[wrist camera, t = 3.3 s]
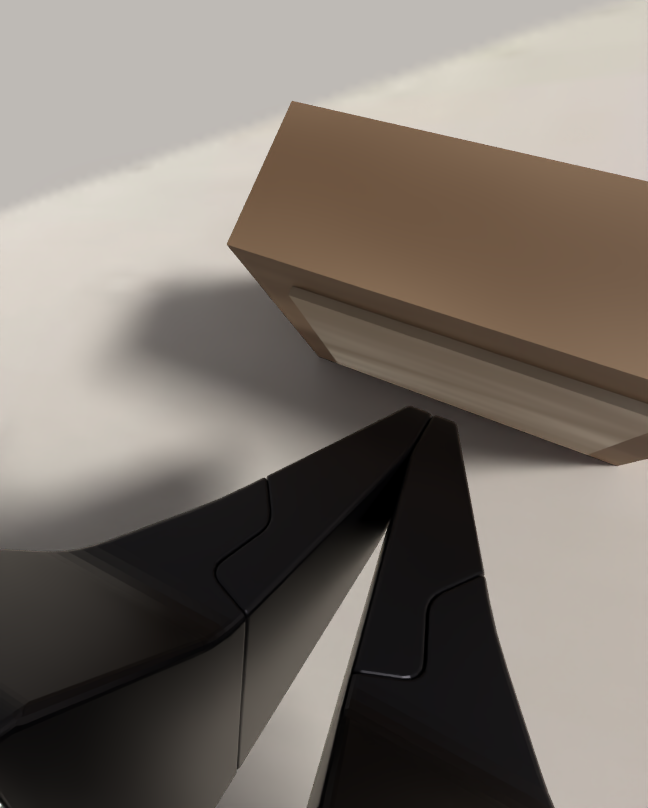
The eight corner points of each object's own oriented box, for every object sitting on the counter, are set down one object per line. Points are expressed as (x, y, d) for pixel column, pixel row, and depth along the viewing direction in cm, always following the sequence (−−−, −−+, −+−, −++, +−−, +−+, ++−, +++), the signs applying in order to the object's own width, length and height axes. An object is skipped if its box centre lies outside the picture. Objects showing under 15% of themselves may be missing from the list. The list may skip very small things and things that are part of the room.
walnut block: (613, 472, 14) (784, 438, 7) (316, 362, 17) (221, 254, 10) (653, 365, 15) (855, 228, 7) (355, 271, 17) (291, 101, 10)
